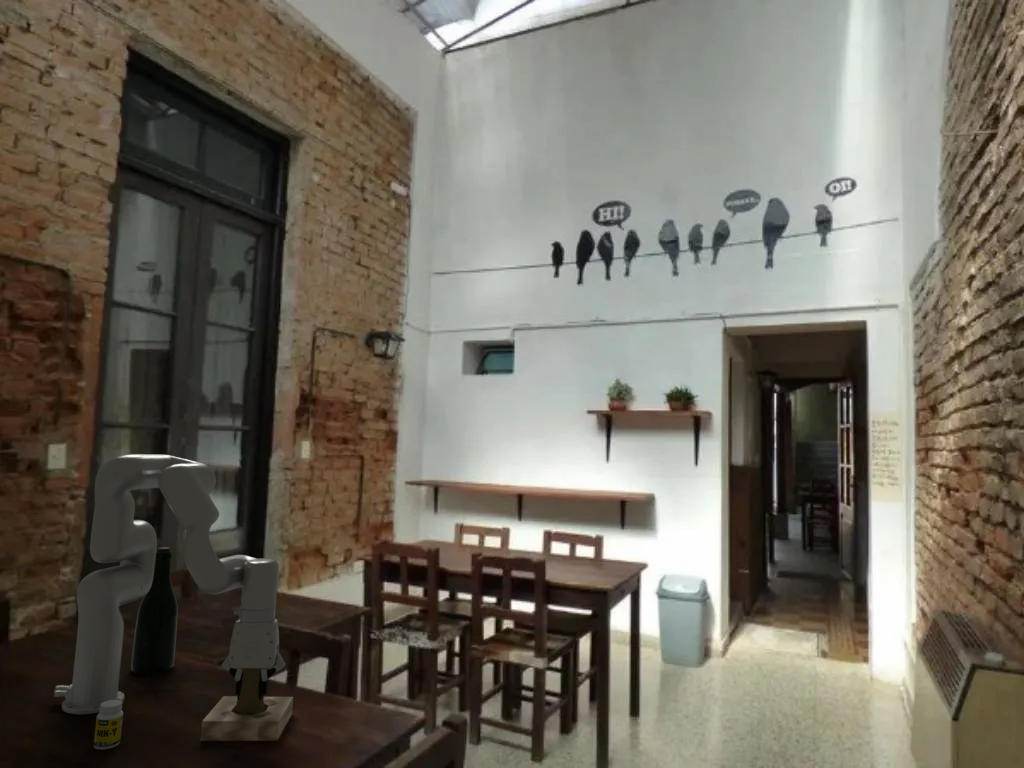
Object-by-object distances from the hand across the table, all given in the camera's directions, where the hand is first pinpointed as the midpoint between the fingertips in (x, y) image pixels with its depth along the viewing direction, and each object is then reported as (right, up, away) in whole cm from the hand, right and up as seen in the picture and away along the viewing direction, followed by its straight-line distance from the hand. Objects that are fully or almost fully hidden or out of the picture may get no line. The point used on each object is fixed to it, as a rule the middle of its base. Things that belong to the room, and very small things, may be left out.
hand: (251, 696), depth 149 cm
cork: (0, -2, 0) cm, 2 cm away
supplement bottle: (-25, -4, -12) cm, 28 cm away
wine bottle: (-40, -8, +32) cm, 52 cm away
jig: (0, -6, -1) cm, 6 cm away
